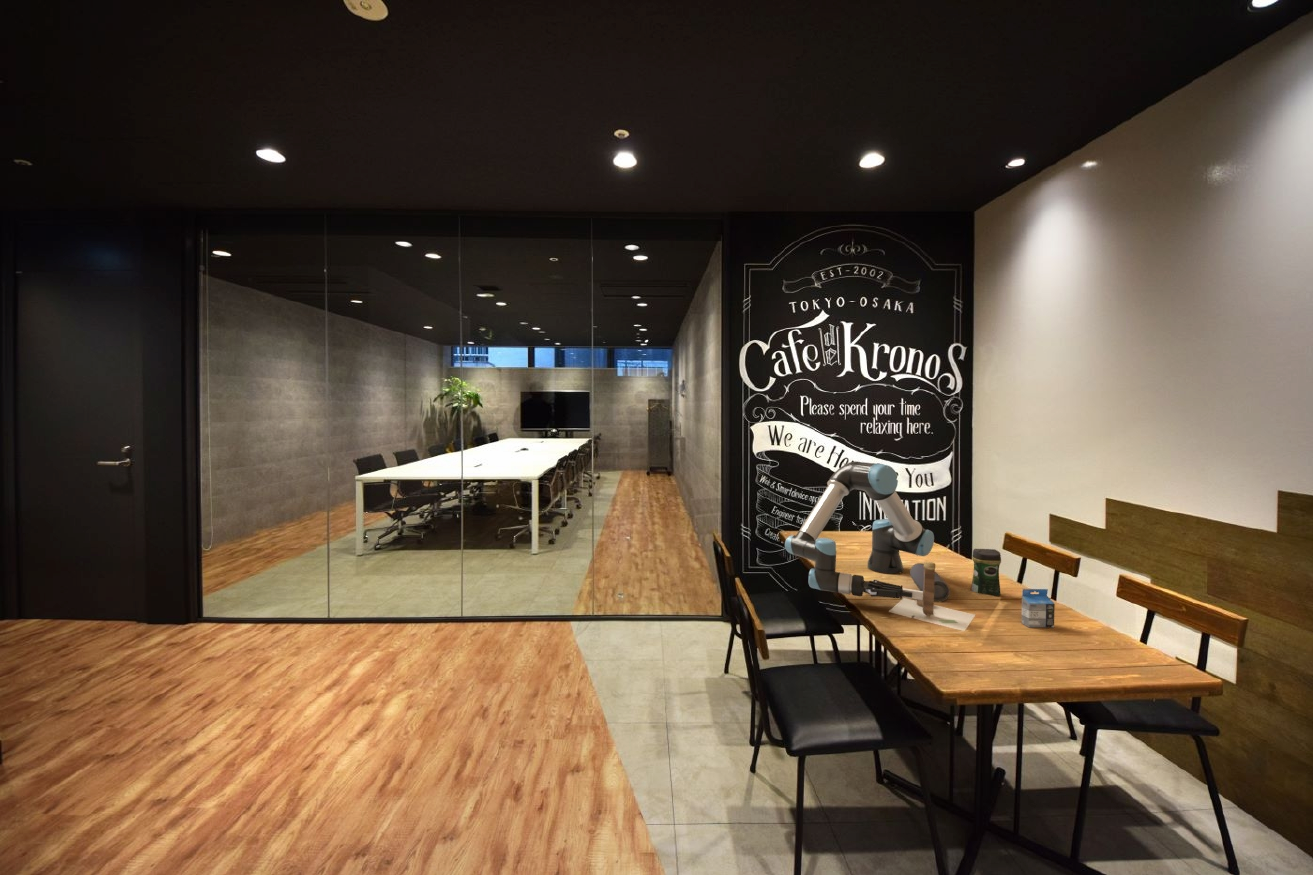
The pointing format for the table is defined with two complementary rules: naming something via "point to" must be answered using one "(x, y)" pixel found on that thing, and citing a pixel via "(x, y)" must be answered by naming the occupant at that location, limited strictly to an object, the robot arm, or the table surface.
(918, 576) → the bluetooth speaker
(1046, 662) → the table surface
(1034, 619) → the label tape box
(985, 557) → the coffee jar
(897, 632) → the table surface
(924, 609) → the wooden l-shaped block
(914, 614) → the white flat sheet
